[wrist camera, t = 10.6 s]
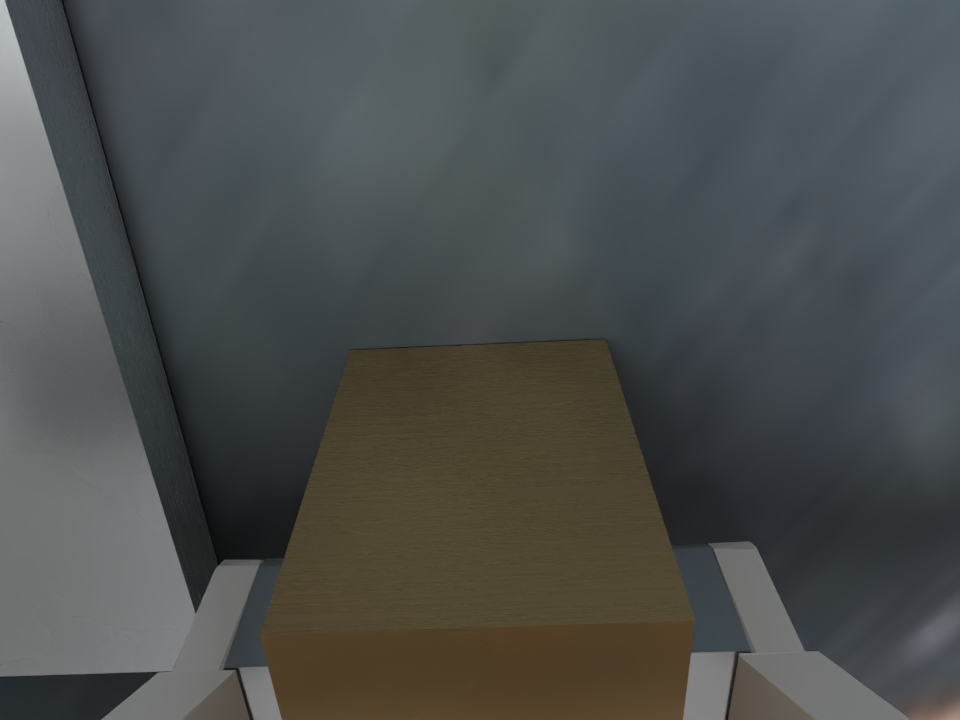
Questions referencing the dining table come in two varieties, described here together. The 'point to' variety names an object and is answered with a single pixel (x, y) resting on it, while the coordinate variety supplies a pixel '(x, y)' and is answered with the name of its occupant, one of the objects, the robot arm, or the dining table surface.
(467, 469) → the tan block
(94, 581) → the base plate
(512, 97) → the dining table surface
